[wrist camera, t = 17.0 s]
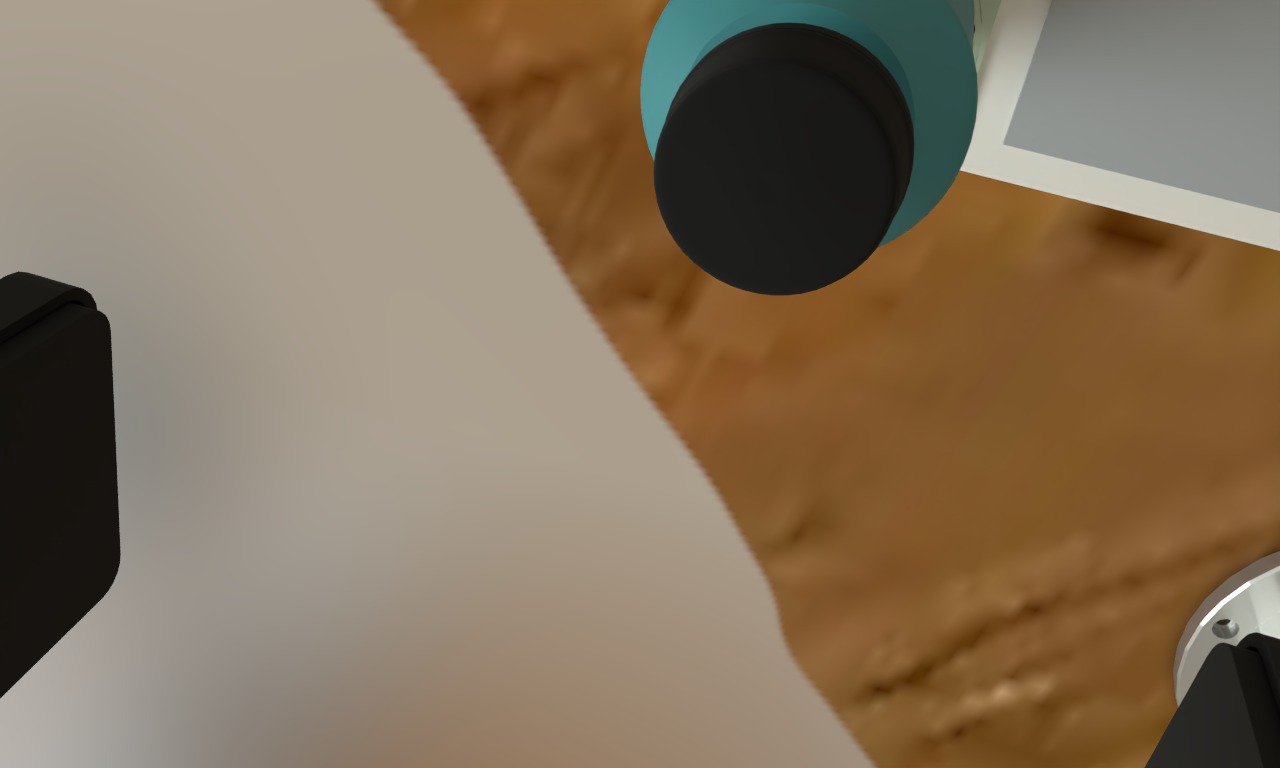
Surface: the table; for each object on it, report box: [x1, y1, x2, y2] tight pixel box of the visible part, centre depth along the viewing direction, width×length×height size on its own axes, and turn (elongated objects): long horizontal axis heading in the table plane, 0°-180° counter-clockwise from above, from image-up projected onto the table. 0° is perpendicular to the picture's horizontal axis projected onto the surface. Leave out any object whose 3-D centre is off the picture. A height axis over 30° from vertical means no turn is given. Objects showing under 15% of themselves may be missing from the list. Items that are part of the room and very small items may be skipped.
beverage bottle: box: [641, 0, 982, 295], centre depth 27 cm, size 6×7×20 cm
